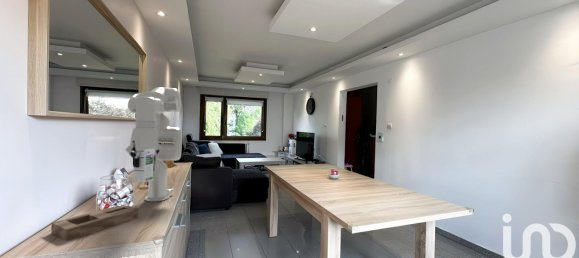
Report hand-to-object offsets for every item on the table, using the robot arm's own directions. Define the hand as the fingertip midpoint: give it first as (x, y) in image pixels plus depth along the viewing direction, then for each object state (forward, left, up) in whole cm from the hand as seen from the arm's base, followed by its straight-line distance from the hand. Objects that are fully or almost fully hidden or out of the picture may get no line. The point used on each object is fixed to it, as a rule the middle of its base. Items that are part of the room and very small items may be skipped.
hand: (144, 165), depth 105 cm
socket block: (+10, -14, -25) cm, 31 cm away
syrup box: (0, 0, -7) cm, 7 cm away
